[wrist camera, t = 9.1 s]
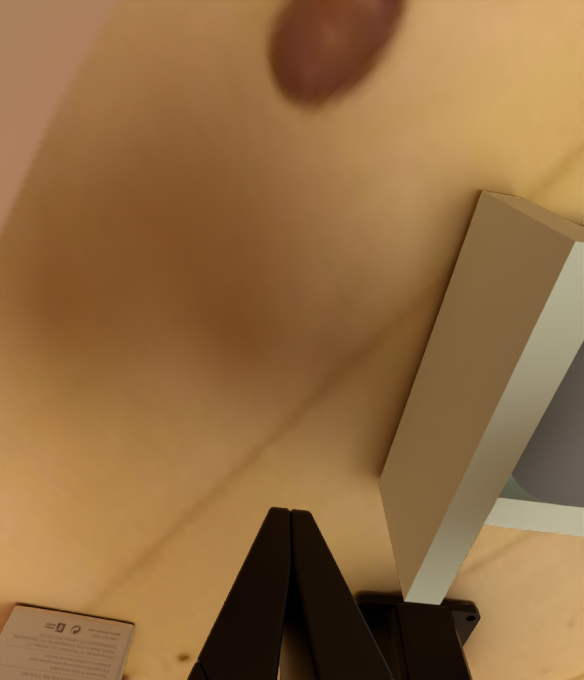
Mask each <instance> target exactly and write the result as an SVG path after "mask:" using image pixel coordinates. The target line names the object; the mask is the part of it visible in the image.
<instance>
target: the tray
mask: <svg viewBox="0 0 584 680" xmlns="http://www.w3.org/2000/svg"><path fill="white" fill-rule="evenodd" d="M583 341H584V226H580V225H578V224H576V223H573V222H571V221H569V220H567V219H565V218H563V217H561V216H559V215H557V214H555V213H553V212H551V211H548V210H546V209H544V208H542V207H540V206H538V205H536V204H534V203H532V202H530V201H528V200H526V199H524V198H521V197H516V196H511V195H505V194H499V193H493V192H488V191H482V192H481V195H480V198H479V201H478V204H477V207H476V209H475V212H474V215H473V218H472V221H471V223H470V226H469V229H468V232H467V235H466V238H465V240H464V243H463V246H462V249H461V252H460V254H459V257H458V260H457V263H456V266H455V269H454V271H453V274H452V277H451V280H450V283H449V285H448V288H447V291H446V294H445V297H444V300H443V302H442V305H441V308H440V311H439V314H438V316H437V319H436V322H435V325H434V328H433V331H432V333H431V336H430V339H429V342H428V345H427V347H426V350H425V353H424V356H423V359H422V362H421V364H420V367H419V370H418V373H417V376H416V378H415V381H414V384H413V387H412V390H411V393H410V395H409V398H408V401H407V404H406V407H405V409H404V412H403V415H402V418H401V421H400V424H399V426H398V429H397V432H396V435H395V438H394V441H393V443H392V446H391V449H390V452H389V455H388V457H387V460H386V463H385V466H384V469H383V472H382V474H381V477H380V480H379V483H378V484H379V489H380V493H381V498H382V502H383V507H384V512H385V516H386V521H387V525H388V530H389V534H390V539H391V544H392V548H393V553H394V557H395V562H396V566H397V571H398V576H399V580H400V585H401V589H402V594H403V598H404V601H405V602H416V603H426V604H436V605H440V604H441V602H442V600H443V598H444V597H445V595H446V593H447V591H448V589H449V587H450V585H451V584H452V582H453V580H454V578H455V576H456V574H457V573H458V571H459V569H460V567H461V565H462V563H463V562H464V560H465V558H466V556H467V554H468V552H469V551H470V549H471V547H472V545H473V543H474V541H475V539H476V538H477V536H478V534H479V532H480V530H481V528H482V527H483V525H488V526H496V527H505V528H514V529H523V530H531V531H540V532H549V533H558V534H566V535H575V536H584V506H581V507H576V506H564V505H558V504H553V503H550V502H546V501H543V500H541V499H539V498H536V497H534V496H533V495H531V494H529V493H528V492H526V491H525V490H524V489H523V488H522V487H520V486H519V484H518V483H517V482H516V481H515V479H514V478H513V476H512V474H511V473H512V471H513V470H514V468H515V466H516V464H517V462H518V460H519V459H520V457H521V455H522V453H523V451H524V449H525V447H526V446H527V444H528V442H529V440H530V438H531V436H532V435H533V433H534V431H535V429H536V427H537V425H538V424H539V422H540V420H541V418H542V416H543V414H544V413H545V411H546V409H547V407H548V405H549V403H550V401H551V400H552V398H553V396H554V394H555V392H556V390H557V389H558V387H559V385H560V383H561V381H562V379H563V378H564V376H565V374H566V372H567V370H568V368H569V366H570V365H571V363H572V361H573V359H574V357H575V355H576V354H577V352H578V350H579V348H580V346H581V344H582V343H583Z"/></svg>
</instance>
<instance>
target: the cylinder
mask: <svg viewBox="0 0 584 680" xmlns="http://www.w3.org/2000/svg"><path fill="white" fill-rule="evenodd" d="M511 474H512V476H513V478H514V479H515V481H516V482H517V483H518V484H519V486H520V487H522V488H523V489H524V490H525V491H526V492H528V493H529V494H531V495H533V496H534V497H536V498H539V499H541V500H543V501H546V502H550V503H553V504H558V505H564V506H576V507H581V506H584V341H583V343H582V344H581V346H580V348H579V350H578V352H577V354H576V355H575V357H574V359H573V361H572V363H571V365H570V366H569V368H568V370H567V372H566V374H565V376H564V378H563V379H562V381H561V383H560V385H559V387H558V389H557V390H556V392H555V394H554V396H553V398H552V400H551V401H550V403H549V405H548V407H547V409H546V411H545V413H544V414H543V416H542V418H541V420H540V422H539V424H538V425H537V427H536V429H535V431H534V433H533V435H532V436H531V438H530V440H529V442H528V444H527V446H526V447H525V449H524V451H523V453H522V455H521V457H520V459H519V460H518V462H517V464H516V466H515V468H514V470H513V471H512V473H511Z"/></svg>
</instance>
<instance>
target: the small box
mask: <svg viewBox="0 0 584 680" xmlns="http://www.w3.org/2000/svg"><path fill="white" fill-rule="evenodd" d="M133 630H134V626H133V625H132V624H127V623H122V622H117V621H111V620H105V619H100V618H94V617H88V616H82V615H76V614H71V613H65V612H59V611H52V610H45V609H39V608H33V607H25V606H15V607H14V608H13V609H12V611H11V613H10V615H9V617H8V619H7V621H6V622H5V624H4V626H3V628H2V630H1V632H0V680H121V679H122V675H123V671H124V667H125V664H126V660H127V656H128V652H129V648H130V644H131V640H132V635H133Z"/></svg>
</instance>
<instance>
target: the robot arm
mask: <svg viewBox="0 0 584 680" xmlns="http://www.w3.org/2000/svg"><path fill="white" fill-rule="evenodd" d="M480 618H481V617H480V614H479V611H478V609H477V607H476V606H474V605H466V604H456V603H446V602H441V604H440V605H436V604H426V603H416V602H405V601H404V598H396V597H386V596H376V595H360V596H358V597H357V598H356V599H355V600H354V598H353V596H352V594H351V592H350V590H349V588H348V586H347V584H346V582H345V580H344V578H343V576H342V574H341V572H340V570H339V568H338V566H337V564H336V562H335V560H334V558H333V556H332V554H331V552H330V550H329V548H328V546H327V544H326V542H325V540H324V538H323V536H322V534H321V532H320V530H319V528H318V526H317V524H316V522H315V520H314V518H313V516H312V514H311V513H310V512H309V511H306V510H297V509H292V510H291V511H289V509H287V508H280V507H271V508H270V509H269V511H268V513H267V515H266V517H265V519H264V521H263V523H262V526H261V528H260V530H259V532H258V534H257V536H256V538H255V540H254V542H253V544H252V546H251V548H250V550H249V553H248V555H247V557H246V559H245V561H244V563H243V565H242V567H241V569H240V571H239V573H238V575H237V577H236V580H235V582H234V584H233V586H232V588H231V590H230V592H229V594H228V596H227V598H226V600H225V602H224V604H223V607H222V609H221V611H220V613H219V615H218V617H217V619H216V621H215V623H214V625H213V627H212V629H211V631H210V633H209V636H208V638H207V640H206V642H205V644H204V646H203V648H202V650H201V652H200V654H199V656H198V659H197V662H196V663H195V664H194V666H193V668H192V670H191V672H190V674H189V676H188V679H187V680H277V676H278V668H279V664H280V680H472V677H471V674H470V670H469V667H468V664H467V660H466V657H465V654H464V651H463V645H464V644H465V642H466V641H467V639H468V638H469V636H470V634H471V633H472V631H473V630H474V628H475V626H476V625H477V623H478V622H479V620H480Z"/></svg>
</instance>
